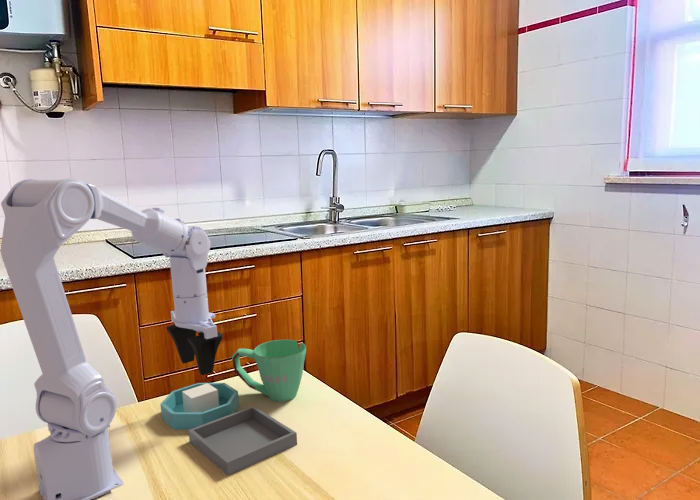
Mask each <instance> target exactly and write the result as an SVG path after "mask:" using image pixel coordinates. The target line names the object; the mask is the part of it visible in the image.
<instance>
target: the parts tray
mask: <svg viewBox="0 0 700 500" xmlns="http://www.w3.org/2000/svg"><path fill="white" fill-rule="evenodd" d="M187 432H188V439H189V441H188V442H189V443H190V444H192V445H193V446H194V447H195V448H196V449H197V450H199V452H200V453H202V454H203V455H204V456H205V457H206V458H207V459H209V460H210V461H211V462H212V463H213V464H214V465H215V466H217V467H218V468H219V469H220V470H221V471H222V472H224V473H225V474H226V475H227V476H229V477H230V476H231V475H234V474H236V473H238V472H240V471H242V470H244V469H247V468H249V467H251V466H253V465H256V464H257V463H259V462H262V461H264V460H266V459H268V458H271V457H273V456H275V455H277V454H280V453H282V452H284V451H287V450H288V449H289V450H290V448H293V447H295V446H298V437H297V433H298V432H296V431H294V430H293V429H292V428H289V427H288V426H287V425H285V424H283V423H282V422H280V421H279V420H278V419H276V418H274V417H272V416H271V415H269V413H266V412H264V411H263V410H261V409H260V408H258V407H256V406H255V405H252V406H249V407H247V408H244V409H242V410H238V411H236V412H235V413H233V414H230V415H227V416H225V417H222V418H219V419H217V420H214V421H211V422H209V423H206V424H203V425H201V426H198V427H195V428H193V429H190V430H187Z"/></svg>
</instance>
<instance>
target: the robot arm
mask: <svg viewBox="0 0 700 500" xmlns="http://www.w3.org/2000/svg"><path fill="white" fill-rule="evenodd" d="M0 205H1V208H2V211H3V214H4V223H3V228H2V229H3V230H2V236H1V237H2V238H1V242H0V243H1V245H0V254H1V258H2V262H3V264H4V268H5V269H6V273H7V276H8V279H9V281H10V284H11V287H12V290H13V293H14V296H15V299H16V301H17V305H18V308H19V310H20V312H21V316H22V319H23V321H24V325H25V327H26V331H27V333H28V336H29V339H30V341H31V345H32V347H33V351H34V354H35V356H36V358H37V361H38V364H39V368H40V371H41V373H42V374H41V375H40V376H39V377H38V378H37V379H36V381H35V382H34V388H35V391H36V399H35V412H36V415H37V416H38V418H39V420H41V421H43V422H44V423H47V428H48V429H47V430H48V432H49V435H48V436H46V437H45V438H44V439H41V440H40V441H37V442H35V443H34V444H33V454H34V455H33V456H34V462H35V466H36V467H35V468H36V473H37V479H38V480H37V481H38V483H37V485H38V490H39V494H40V495H41V497H42V499H43V500H94V499H96V498H98V497H100V496H102V495H105V494H108V493H111V492H112V490H115V489H117V488H119V487H121V486H123V485H124V483H125V482H124V481H123V480H122V478H121V477H120V476H119V474H118V473H117V472H116V470H115V469H114V467H113V466H114V465H113V459H112V450H111V442H110V434H109V429H110V428H111V423H112V422H113V419H114V417H115V415H116V412H117V406H118V405H117V398H116V396H115V394H114V393H113V391H111V390H110V389H109V388H108V387H107V385H106V384H105V382H104V379H103V377H102V375H101V374H100V373H99V372H98V371H97V370H95V368H94V367H92V366H91V365H90V363H89V362H88V361H87V359H86V356H85V353H84V349H83V347H82V346H83V345H82V342H81V340H80V336H79V334H78V331H77V327H76V324H75V321H74V318H73V313H72V311H71V309H70V305H69V302H68V299H67V296H66V292H65V289H64V285H63V283H62V279H61V277H60V273H59V270H58V266H57V263H56V260H55V255H56V254H57V252H58V250H59V249H60V248H61V246H62V245H64V244H65V243H66V242H67V241H68V240H69V239H71V238H72V236H74V235H75V234H76V233H77V232H78V231H79V230H80V229H82V228H83V227H84V226H85V225H86V224H87V223H88V222H89V221H90V220H98V221H101V222H104V223H106V224H111V225H113V226H116V227H119V228H122V229H124V230H128V231H130V232H131V235H132V238H133V240H134V241H135V242H137V243H139V244H142V245H145V246H147V247H149V248H152V249H155V250H157V251H161V253H162V255H163V256H164V257H165V258H167V259H168V258H169V267H170V275H171V277H170V278H171V286H172V287H171V289H172V297H173V307H174V308H173V309H174V310H171V311H170V319H171V322H172V323H173V324H172V325H168V326H166V331H167V332H168V333H169V335H170V336H171V338H172V340H173V342H174V345H175V347H176V350H177V352H178V353H177V354H178V356H179V359H180V361H181V364H183V365H184V364H186V363H191V362H194V361H195V360H196V364H197V369H198V372H199V374H200V376H206V375H210V374H211V373H214V367H215V361H216V355H217V353H218V352H217V351H218V350H219V349H218V348H219V346H220V344H221V342H222V340H223V337H224V335H223V333H221V332H218V326H217V325H216V324H215V323H214V322H213V320H212V319H215V318H216V314H215V313H213V312H209V311H210V310H209V299H208V288H207V277H206V275H207V273H206V268H207V265H208V255H209V252H210V251H211V244H212V243H211V242H212V241H211V239H209V236H208V234H207V233H206V232H205V230H204V229H203V228H202V227H200V226H193V225H192V226H191V225H187V224H186V223H185V221H184V220H183V219H182V218H174V217H171V216H169V215H167V214H165V210H164V209H163V208H161V207H152V208H145V209H143V210H141V211H140V210H139V209H137V208H135V207H133V206H131V205H130V204H127V203H125V202H123V201H121V200H119V199H117V198H116V197H114V196H112V195H110V194H108V193H106V192H105V191H103V190H101V189H99V188H98V187H97V185H93V184H90V183H85V182H83V181H82V180H80V179H77V178H71V177H70V178H63V179H44V180H43V179H40V180H39V179H32V178H27V179H22V180H20V181H18V182H16V183H15V184H14V185H13V186H12V187H11V189H10V190H9V191H8V192H7V194H6V195H5V197H4V199H3V200H2V201H1V203H0ZM197 333H198V335H197Z"/></svg>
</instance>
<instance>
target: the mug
mask: <svg viewBox="0 0 700 500" xmlns="http://www.w3.org/2000/svg"><path fill="white" fill-rule="evenodd" d="M306 353H307V346H306V344H305V343H303V342H300V346H299V342H298V340H295V339H276V340H275V339H274V340H271V341H266V342H263V343H260V344H258V345H257V346H255V348H254V349H250V348H238V349H237V350H236V351H235V352H234V353H233V354H232V356H231V359H232V364H233V371H234V373H235V374H236V375H237V376H238V377H239V378H240V379H241V380H242V382H243V383H245V384H246V385H247V386H248V388H250V389H252V390H255V391H257V392H258V393H261V394H263V395H265V396H267V397H268V398H269V399H270V400H271V401H273V402H278V403H279V402H289V401H291V400H293V399H295V398H296V396H297V395H298V392H299V388H300V384H301V382H302V377H303V375H304V374H303V373H304V366H305V359H306V355H307V354H306ZM241 357H247V358H249V359H253V360H255V363H256V366H257V370H258V372H259V377H260V380H261V382H262V383H261V382H258V381H255V380H254V379H253V378H252V377H251V376H250V374H248V373H247V371H246V370H245V369H244V368H243V366H241V361H240V358H241Z"/></svg>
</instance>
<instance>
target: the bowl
mask: <svg viewBox="0 0 700 500" xmlns="http://www.w3.org/2000/svg"><path fill="white" fill-rule="evenodd" d="M207 383H208V384H210V385H211V386H213V387H214V388H216V389H217V390H218V399H219V406H218V407H215V408H213V409H210V410H207V411H204V412H184V405H183V395H182V391H185V390H188V389H191V388H195V387H198V386H201V385H204V384H207ZM239 399H240V398H239V391H238V390H236V389H235V388H234V387H232V386H231V385H229V384H227V383H226V382H197V383H194V384H191V385H188V386H184V387H181V388H178V389H175V390H172V391H171V392H170V393H169V394H168V395H167V396H166V397H165V398H164V400H163V401H161V402H160V414H161V420H162V421H164V422H165V423H166V424H167V425H168V426H169V427H170V428H172V430H187V431H188V430H190V429H193V428H195V427H198V426H201V425H203V424H206V423H209V422H211V421H214V420H217V419H219V418H222V417H225V416H227V415H230V414H233V413H235V412H237V410H238V409H239V407H240V400H239Z"/></svg>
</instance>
